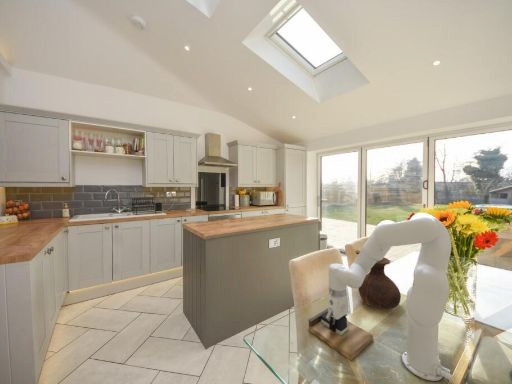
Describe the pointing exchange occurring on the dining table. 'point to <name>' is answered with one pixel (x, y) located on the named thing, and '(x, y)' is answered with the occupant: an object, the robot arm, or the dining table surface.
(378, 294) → the jug
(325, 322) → the black block white base
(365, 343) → the sharpening stone holder
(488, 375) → the dining table surface
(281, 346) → the dining table surface
